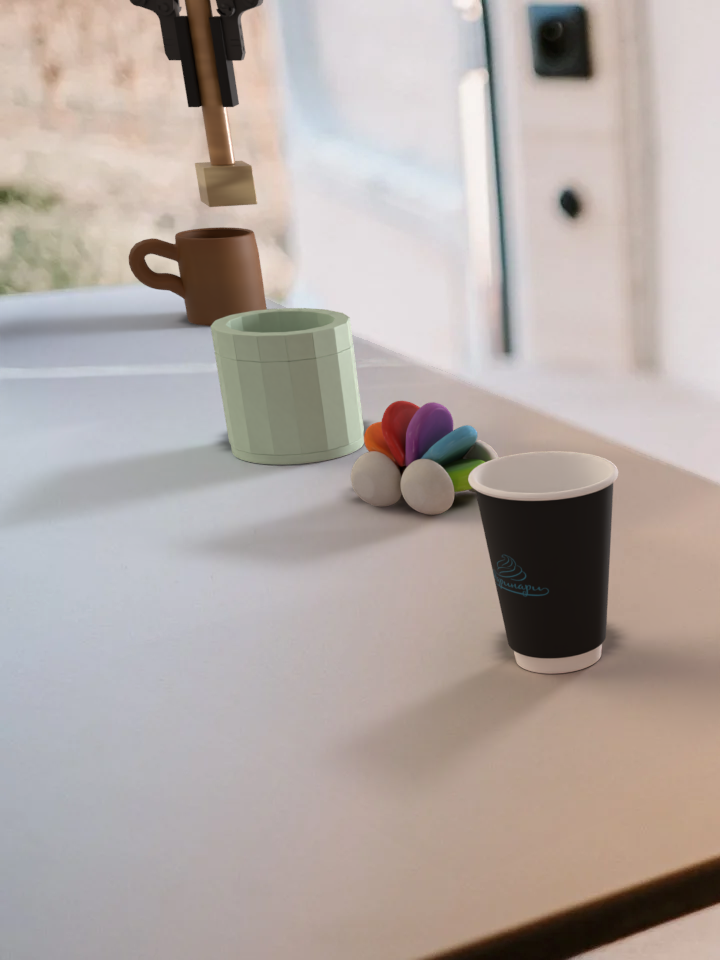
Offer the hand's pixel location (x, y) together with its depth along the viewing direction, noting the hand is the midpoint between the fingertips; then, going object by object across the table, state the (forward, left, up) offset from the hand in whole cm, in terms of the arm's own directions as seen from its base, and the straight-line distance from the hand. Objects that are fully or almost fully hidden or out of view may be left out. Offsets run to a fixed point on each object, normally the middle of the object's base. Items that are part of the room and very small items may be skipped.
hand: (213, 105), depth 126 cm
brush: (0, 0, -7) cm, 7 cm away
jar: (+4, -10, -25) cm, 27 cm away
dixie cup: (+24, -55, -25) cm, 65 cm away
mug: (-11, +35, -25) cm, 44 cm away
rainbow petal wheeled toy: (+15, -25, -25) cm, 39 cm away
